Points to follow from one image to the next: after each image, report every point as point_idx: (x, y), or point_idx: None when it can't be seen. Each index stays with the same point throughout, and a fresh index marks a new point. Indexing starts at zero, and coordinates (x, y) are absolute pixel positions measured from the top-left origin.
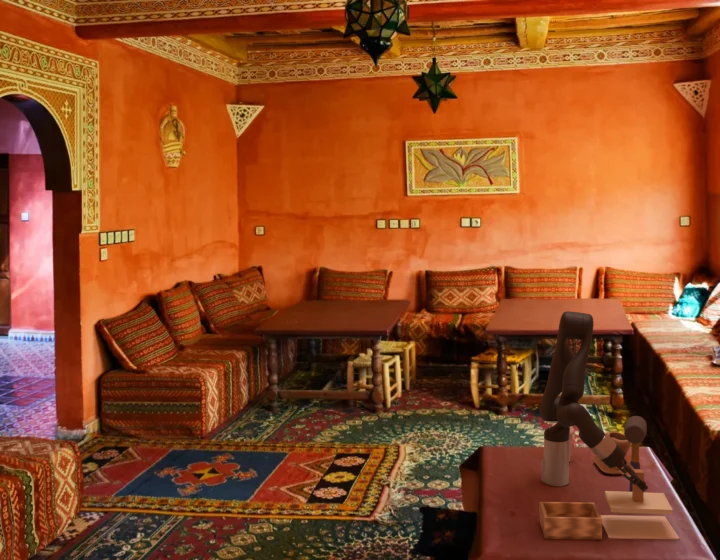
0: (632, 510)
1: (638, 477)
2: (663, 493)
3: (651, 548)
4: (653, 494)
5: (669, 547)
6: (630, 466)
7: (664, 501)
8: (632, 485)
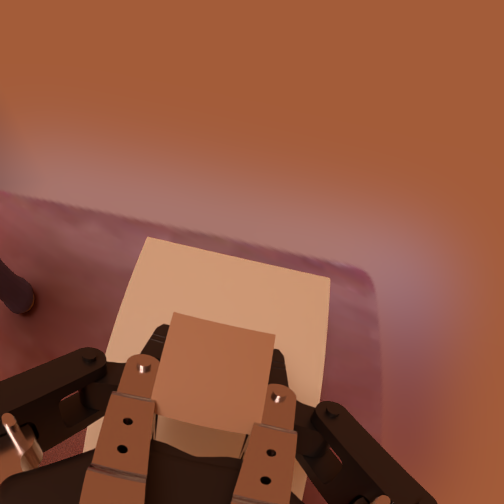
0: None
1: (281, 401)
2: (152, 238)
3: (356, 397)
4: (151, 283)
5: (350, 345)
6: (150, 449)
7: (238, 272)
8: (2, 290)
